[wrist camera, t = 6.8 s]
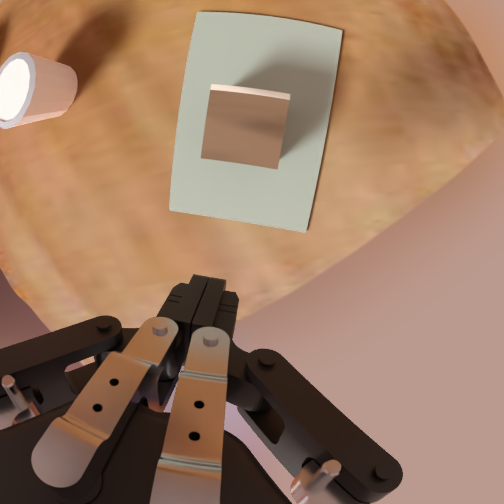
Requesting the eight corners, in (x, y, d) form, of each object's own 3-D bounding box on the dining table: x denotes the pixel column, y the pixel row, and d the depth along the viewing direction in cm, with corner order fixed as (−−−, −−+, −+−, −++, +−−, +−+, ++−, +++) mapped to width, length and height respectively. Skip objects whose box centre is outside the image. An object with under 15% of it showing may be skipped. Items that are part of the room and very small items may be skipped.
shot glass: (80, 48, 19) (34, 37, 13) (86, 109, 22) (37, 110, 15) (33, 76, 20) (-12, 74, 14) (39, 132, 23) (-8, 140, 16)
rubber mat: (198, 12, 18) (197, 11, 18) (341, 31, 18) (342, 30, 18) (170, 209, 25) (169, 210, 25) (305, 231, 25) (305, 232, 25)
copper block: (215, 152, 23) (223, 93, 21) (276, 161, 23) (286, 101, 21) (200, 158, 18) (211, 83, 16) (277, 169, 18) (290, 94, 16)
